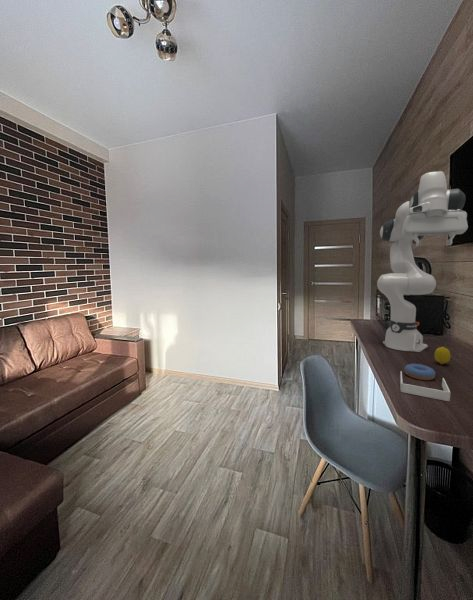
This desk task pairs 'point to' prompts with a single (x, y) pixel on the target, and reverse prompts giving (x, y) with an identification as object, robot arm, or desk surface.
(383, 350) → the desk surface
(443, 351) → the lemon
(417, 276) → the robot arm
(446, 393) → the box
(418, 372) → the doughnut
